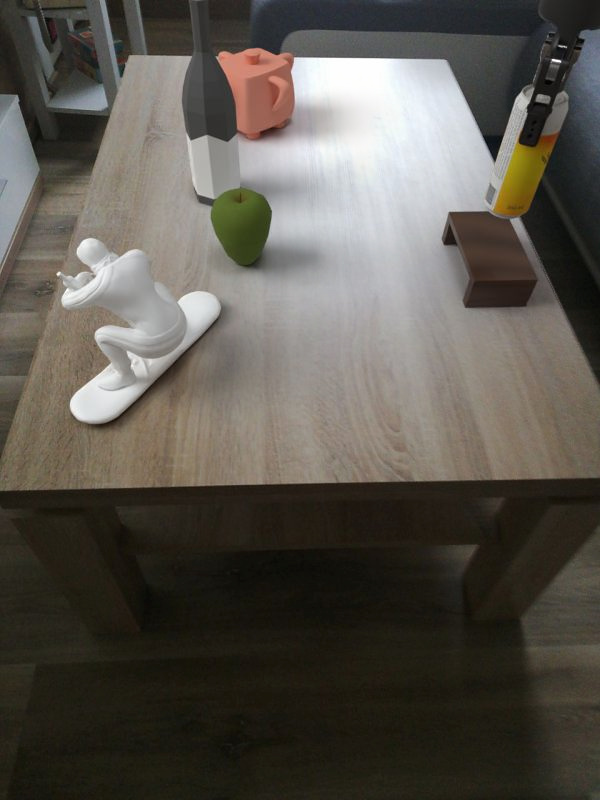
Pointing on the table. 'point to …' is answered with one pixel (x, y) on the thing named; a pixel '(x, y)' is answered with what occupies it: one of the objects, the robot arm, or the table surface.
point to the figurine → (145, 311)
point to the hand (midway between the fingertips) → (532, 131)
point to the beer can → (522, 158)
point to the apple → (241, 223)
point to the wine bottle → (209, 115)
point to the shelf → (491, 259)
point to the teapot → (260, 88)
